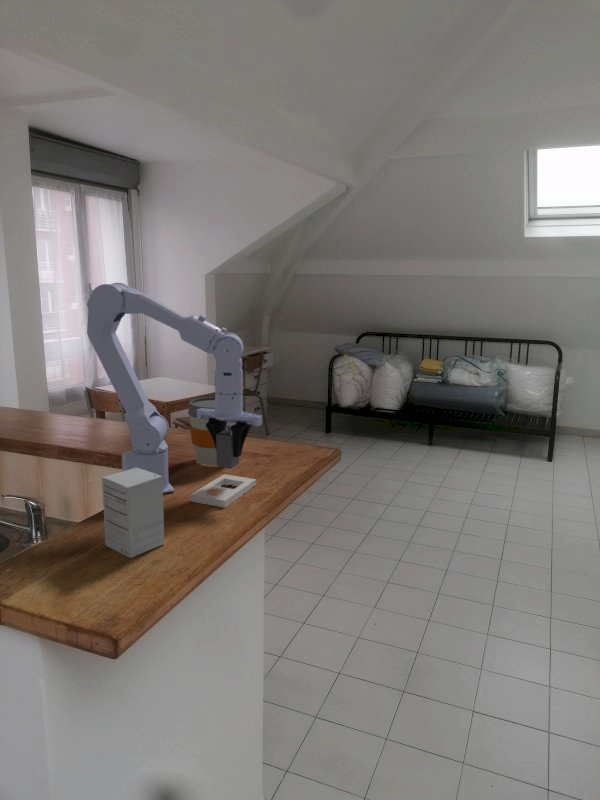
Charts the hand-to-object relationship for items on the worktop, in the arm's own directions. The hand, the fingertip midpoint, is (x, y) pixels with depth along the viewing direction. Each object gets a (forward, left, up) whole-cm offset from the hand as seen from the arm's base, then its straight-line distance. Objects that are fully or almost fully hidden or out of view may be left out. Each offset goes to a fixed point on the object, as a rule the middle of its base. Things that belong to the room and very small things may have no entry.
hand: (229, 454), depth 133 cm
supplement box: (-24, -19, -8) cm, 32 cm away
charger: (0, 0, -2) cm, 2 cm away
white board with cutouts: (-2, -1, -8) cm, 8 cm away
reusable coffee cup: (+4, +20, -8) cm, 22 cm away
